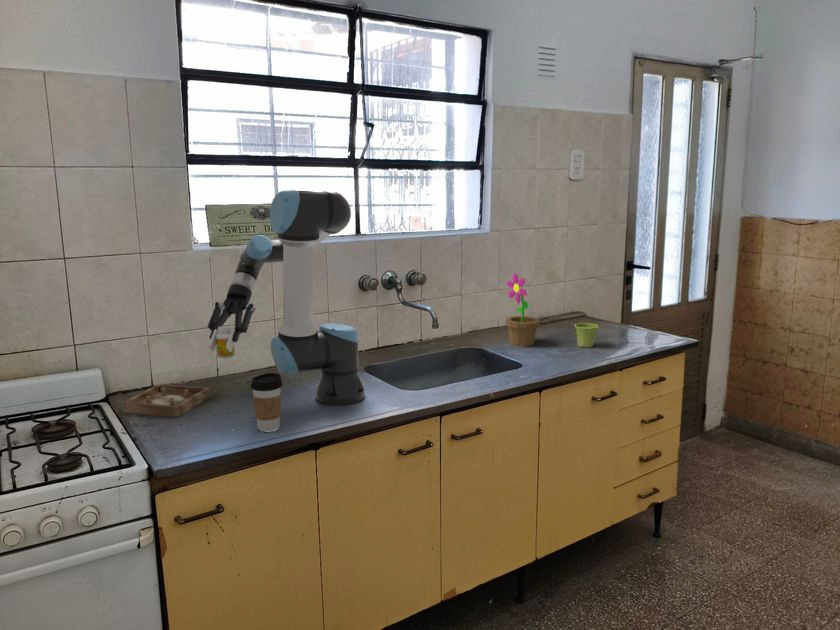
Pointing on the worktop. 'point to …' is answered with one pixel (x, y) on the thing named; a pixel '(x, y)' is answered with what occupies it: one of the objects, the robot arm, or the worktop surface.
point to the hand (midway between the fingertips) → (219, 349)
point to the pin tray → (166, 400)
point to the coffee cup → (267, 400)
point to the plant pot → (585, 334)
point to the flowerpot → (521, 318)
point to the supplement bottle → (224, 342)
